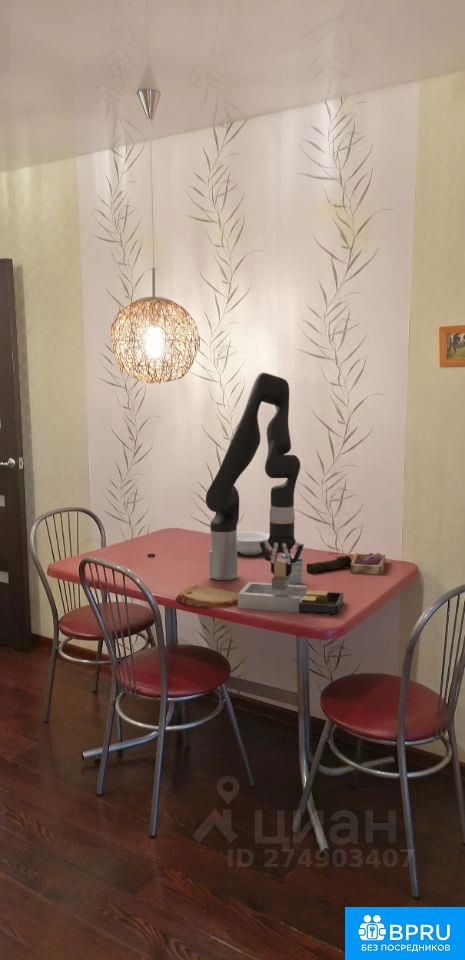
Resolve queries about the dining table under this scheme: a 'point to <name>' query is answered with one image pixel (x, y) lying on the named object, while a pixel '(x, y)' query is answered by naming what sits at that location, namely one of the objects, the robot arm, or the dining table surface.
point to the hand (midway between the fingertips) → (281, 574)
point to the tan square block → (322, 597)
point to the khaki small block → (311, 593)
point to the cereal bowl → (251, 542)
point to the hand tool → (329, 565)
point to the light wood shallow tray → (366, 568)
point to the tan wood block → (309, 599)
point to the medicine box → (295, 570)
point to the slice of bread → (207, 597)
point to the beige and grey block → (280, 575)
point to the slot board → (285, 599)
